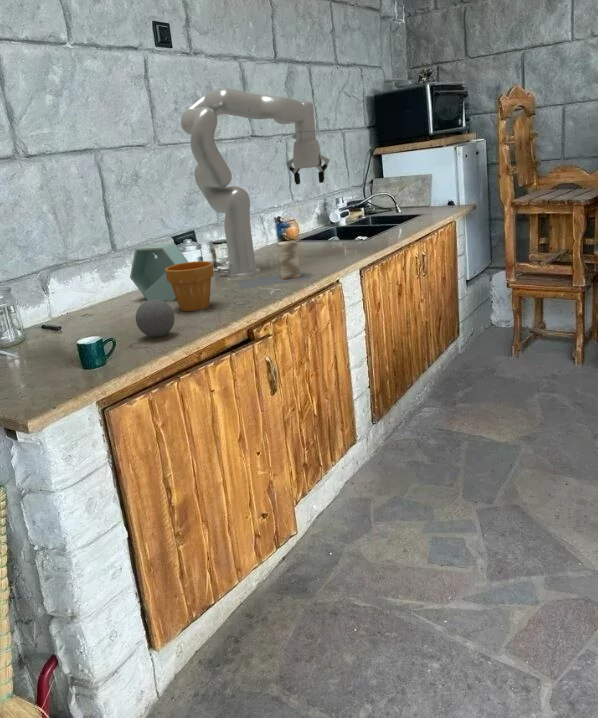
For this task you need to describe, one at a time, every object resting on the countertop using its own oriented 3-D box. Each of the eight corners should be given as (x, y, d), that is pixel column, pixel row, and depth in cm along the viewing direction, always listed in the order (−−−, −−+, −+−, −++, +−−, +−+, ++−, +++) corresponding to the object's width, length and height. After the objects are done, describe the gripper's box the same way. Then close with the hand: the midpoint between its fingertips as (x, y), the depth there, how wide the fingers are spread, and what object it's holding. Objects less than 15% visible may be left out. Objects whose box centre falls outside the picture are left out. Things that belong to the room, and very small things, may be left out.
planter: (158, 314, 227) (119, 264, 225) (169, 308, 234) (132, 259, 232) (191, 285, 219) (151, 233, 217) (202, 280, 226) (163, 229, 224)
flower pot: (222, 300, 216) (216, 259, 212) (213, 311, 202) (207, 268, 198) (177, 304, 217) (171, 263, 213) (166, 315, 204) (159, 272, 200)
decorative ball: (175, 339, 177) (169, 301, 174) (136, 343, 177) (129, 306, 174) (178, 329, 187) (173, 293, 184) (142, 333, 186) (135, 297, 183)
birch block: (283, 279, 234) (279, 244, 230) (280, 276, 240) (276, 242, 236) (300, 277, 235) (296, 242, 231) (297, 274, 240) (293, 240, 237)
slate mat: (241, 289, 228) (240, 288, 228) (236, 282, 241) (236, 280, 241) (311, 279, 232) (311, 278, 231) (303, 272, 245) (303, 271, 245)
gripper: (280, 139, 259) (285, 185, 264) (323, 134, 253) (327, 182, 258) (288, 138, 266) (292, 184, 271) (330, 134, 259) (334, 181, 264)
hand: (309, 183), depth 264 cm, fingers open, 9 cm apart
